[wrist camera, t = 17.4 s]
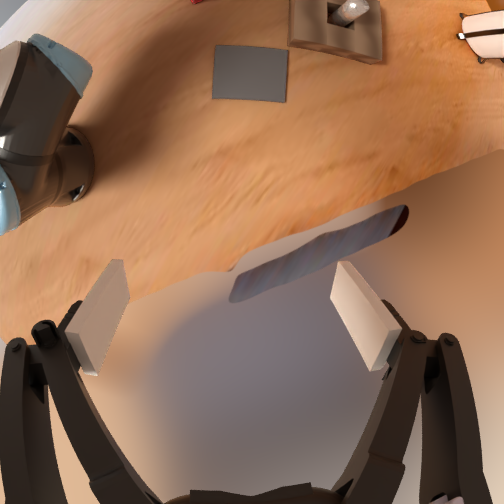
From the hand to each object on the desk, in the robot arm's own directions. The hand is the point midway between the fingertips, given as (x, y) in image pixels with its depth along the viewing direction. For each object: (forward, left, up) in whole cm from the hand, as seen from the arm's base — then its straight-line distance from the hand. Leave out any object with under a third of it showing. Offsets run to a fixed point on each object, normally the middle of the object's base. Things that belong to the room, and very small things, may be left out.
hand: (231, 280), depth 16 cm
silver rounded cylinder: (+17, +32, -33) cm, 49 cm away
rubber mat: (+3, +19, -33) cm, 38 cm away
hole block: (+17, +32, -33) cm, 49 cm away
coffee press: (+59, +47, -33) cm, 82 cm away
